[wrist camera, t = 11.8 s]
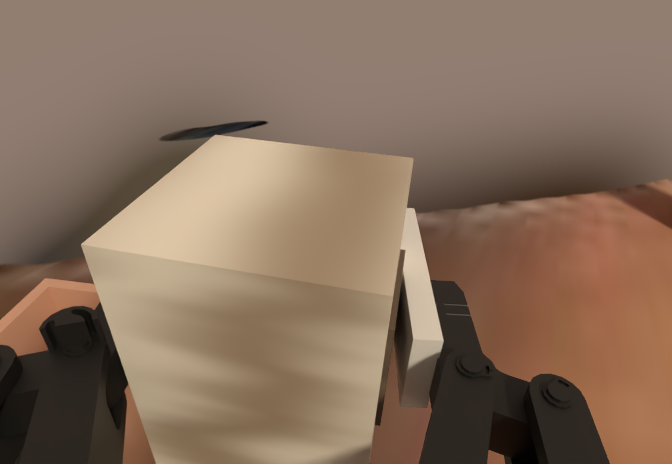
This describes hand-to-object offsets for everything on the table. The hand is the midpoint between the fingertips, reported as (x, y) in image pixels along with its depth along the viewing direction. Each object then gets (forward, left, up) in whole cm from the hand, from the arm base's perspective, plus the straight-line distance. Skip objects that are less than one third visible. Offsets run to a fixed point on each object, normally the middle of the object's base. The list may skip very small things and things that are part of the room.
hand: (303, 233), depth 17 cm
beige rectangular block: (+1, -5, -6) cm, 8 cm away
